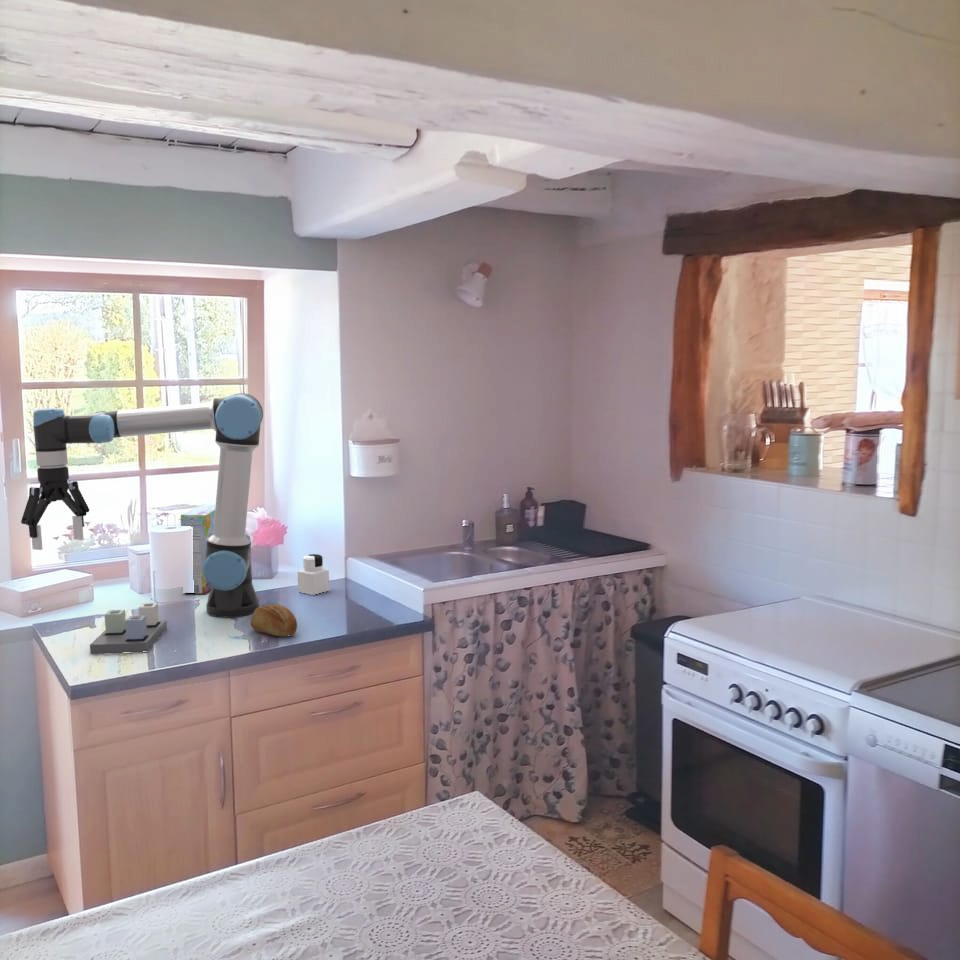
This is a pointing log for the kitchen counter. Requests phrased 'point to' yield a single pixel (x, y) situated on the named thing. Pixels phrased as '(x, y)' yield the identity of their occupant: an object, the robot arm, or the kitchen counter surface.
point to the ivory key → (149, 612)
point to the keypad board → (127, 640)
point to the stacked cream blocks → (313, 575)
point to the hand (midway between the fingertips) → (58, 544)
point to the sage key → (115, 621)
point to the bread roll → (274, 620)
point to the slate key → (136, 627)
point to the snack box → (200, 541)
